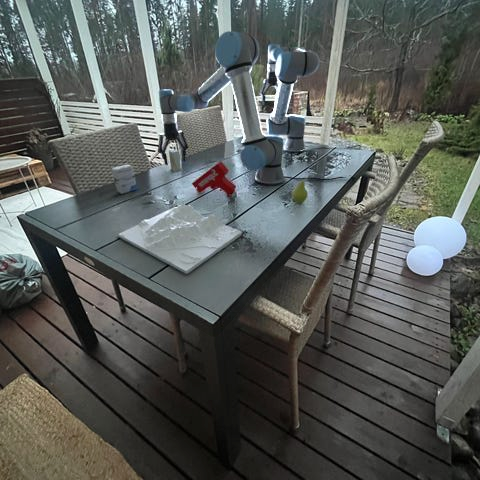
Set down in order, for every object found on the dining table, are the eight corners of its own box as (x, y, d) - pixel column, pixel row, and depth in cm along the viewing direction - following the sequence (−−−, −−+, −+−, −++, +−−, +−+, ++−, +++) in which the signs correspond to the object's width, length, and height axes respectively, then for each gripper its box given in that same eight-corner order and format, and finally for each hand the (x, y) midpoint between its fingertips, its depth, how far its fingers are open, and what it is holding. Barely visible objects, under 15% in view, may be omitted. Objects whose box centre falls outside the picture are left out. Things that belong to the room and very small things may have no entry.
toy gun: (240, 187, 127) (221, 160, 123) (237, 190, 124) (218, 163, 120) (214, 205, 137) (195, 180, 133) (210, 208, 134) (191, 183, 130)
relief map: (186, 274, 80) (184, 260, 77) (118, 236, 97) (114, 224, 95) (241, 234, 98) (241, 222, 95) (176, 209, 116) (174, 198, 113)
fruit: (288, 200, 123) (290, 174, 116) (302, 197, 125) (305, 172, 119) (296, 206, 118) (299, 179, 111) (310, 203, 120) (314, 177, 114)
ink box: (133, 186, 138) (127, 163, 132) (137, 189, 135) (132, 165, 129) (116, 191, 133) (110, 167, 127) (121, 194, 130) (114, 170, 124)
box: (171, 169, 161) (168, 150, 155) (177, 168, 163) (175, 149, 157) (174, 171, 158) (172, 152, 152) (181, 170, 160) (179, 151, 154)
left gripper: (151, 125, 138) (159, 168, 150) (191, 120, 149) (195, 160, 161) (146, 123, 143) (154, 165, 155) (185, 119, 155) (189, 158, 167)
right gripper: (261, 71, 183) (260, 106, 195) (289, 71, 194) (287, 103, 206) (255, 71, 189) (254, 105, 200) (283, 70, 199) (280, 102, 211)
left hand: (175, 162), depth 158 cm, fingers open, 10 cm apart
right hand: (270, 104), depth 203 cm, fingers open, 13 cm apart
